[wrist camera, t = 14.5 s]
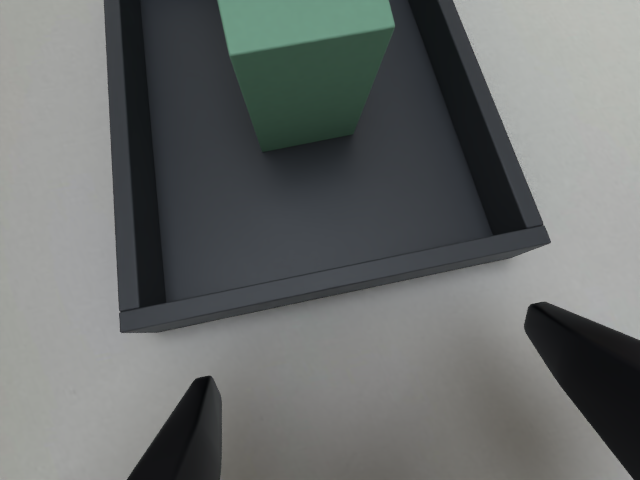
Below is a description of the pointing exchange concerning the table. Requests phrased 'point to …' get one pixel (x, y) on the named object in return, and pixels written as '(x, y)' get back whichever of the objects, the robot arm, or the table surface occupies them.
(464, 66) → the dark grey tray
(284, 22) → the green rectangular block
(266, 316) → the table surface
